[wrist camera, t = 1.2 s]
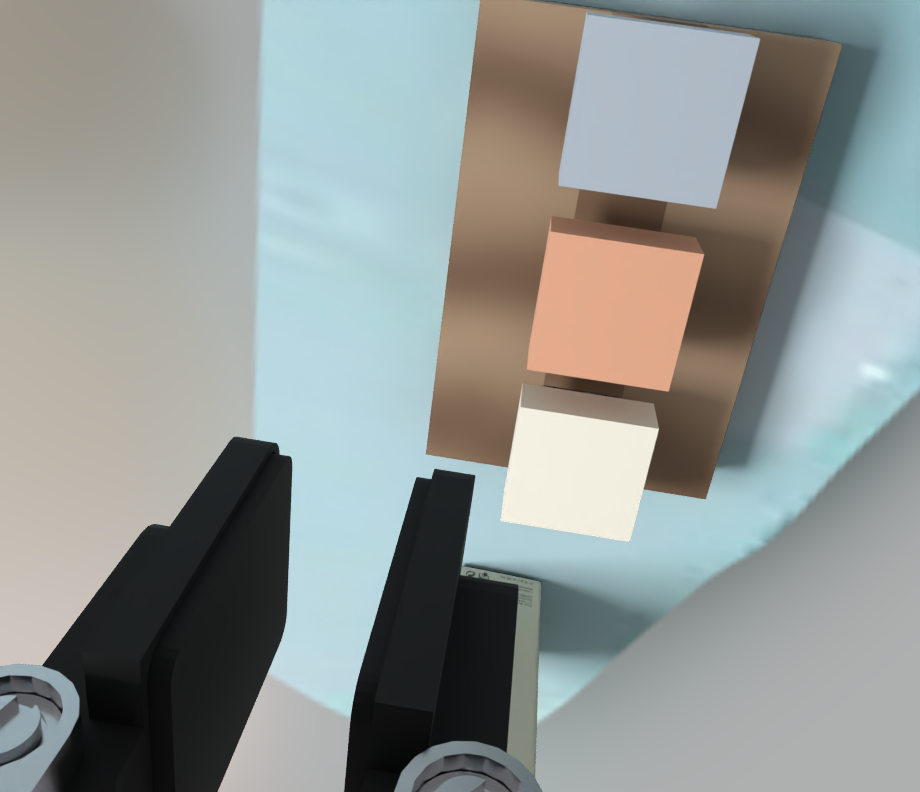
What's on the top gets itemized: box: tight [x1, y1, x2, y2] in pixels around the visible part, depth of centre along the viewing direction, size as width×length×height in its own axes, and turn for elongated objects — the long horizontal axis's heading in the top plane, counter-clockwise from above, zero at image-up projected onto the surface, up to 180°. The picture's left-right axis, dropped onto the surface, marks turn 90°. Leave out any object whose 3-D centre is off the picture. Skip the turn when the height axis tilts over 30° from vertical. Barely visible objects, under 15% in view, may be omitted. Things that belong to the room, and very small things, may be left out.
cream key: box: [501, 383, 659, 542], centre depth 34 cm, size 5×5×4 cm
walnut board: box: [426, 0, 842, 499], centre depth 34 cm, size 18×12×2 cm, turn 173°
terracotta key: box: [527, 216, 704, 392], centre depth 31 cm, size 5×5×4 cm
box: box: [460, 566, 541, 777], centre depth 38 cm, size 5×4×13 cm
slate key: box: [559, 12, 760, 209], centre depth 28 cm, size 5×5×4 cm
